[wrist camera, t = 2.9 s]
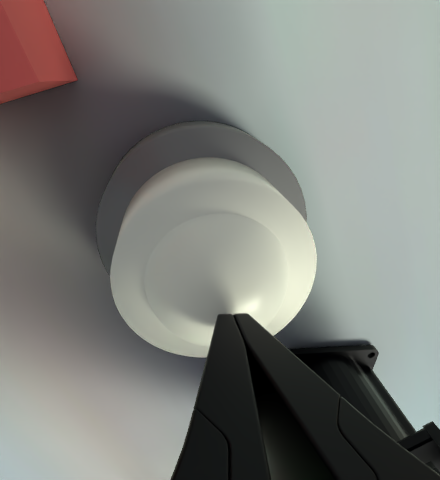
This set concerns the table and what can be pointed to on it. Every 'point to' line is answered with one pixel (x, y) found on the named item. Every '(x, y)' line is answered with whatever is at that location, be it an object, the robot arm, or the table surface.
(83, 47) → the table surface
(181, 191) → the dome
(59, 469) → the table surface
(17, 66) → the red die
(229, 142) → the dome base
